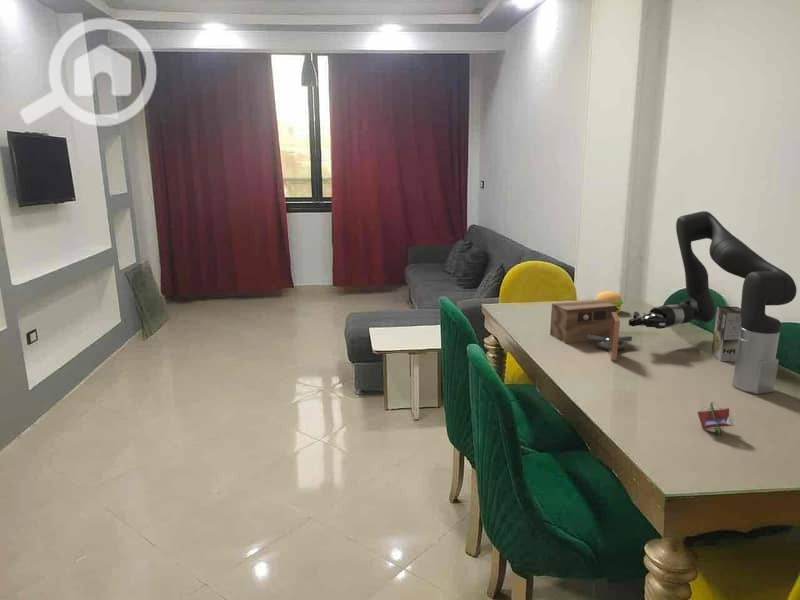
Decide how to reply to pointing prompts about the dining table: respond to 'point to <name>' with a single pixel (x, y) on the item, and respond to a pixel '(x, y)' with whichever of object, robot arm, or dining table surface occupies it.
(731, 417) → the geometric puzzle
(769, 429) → the dining table surface
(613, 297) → the hamburger
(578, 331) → the wooden box
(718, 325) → the coffee box
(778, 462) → the dining table surface
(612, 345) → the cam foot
